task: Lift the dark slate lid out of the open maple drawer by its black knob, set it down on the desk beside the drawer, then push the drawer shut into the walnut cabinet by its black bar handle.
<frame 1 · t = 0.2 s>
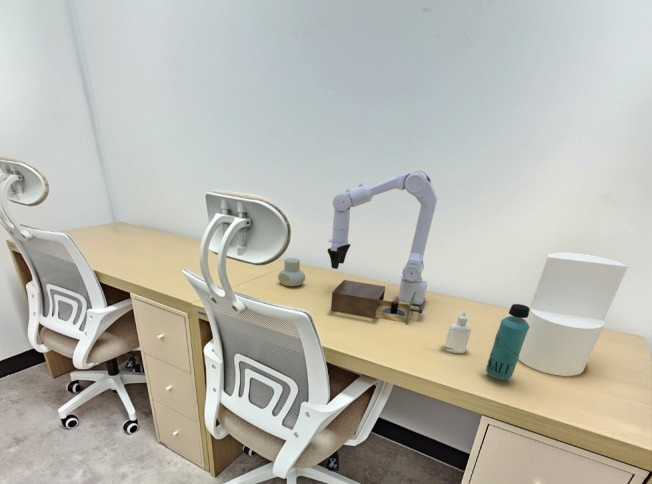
hand: (337, 265, 148), 10 cm above the table, tool pointing down, fingers open, 7 cm apart
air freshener: (291, 284, 158), on the table
beverage bottle: (496, 378, 101), on the table
lid: (393, 313, 132), point 1 cm above the table, touching drawer
drawer: (394, 305, 131), point 4 cm above the table, slide at 9.5 cm, touching lid
eye dropper bottle: (454, 351, 114), on the table
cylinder: (547, 360, 111), on the table
cabinet: (357, 311, 137), on the table
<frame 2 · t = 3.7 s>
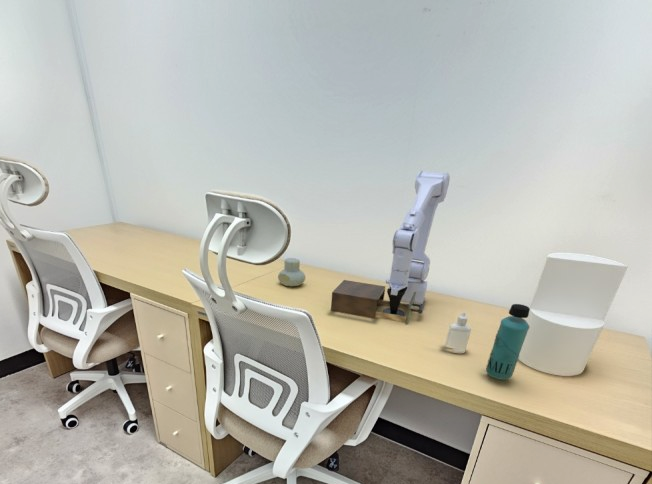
hand: (394, 308, 131), 3 cm above the table, tool pointing down, fingers closed on lid, 2 cm apart
lid: (393, 313, 132), point 2 cm above the table, touching drawer, gripper
everything else where it was.
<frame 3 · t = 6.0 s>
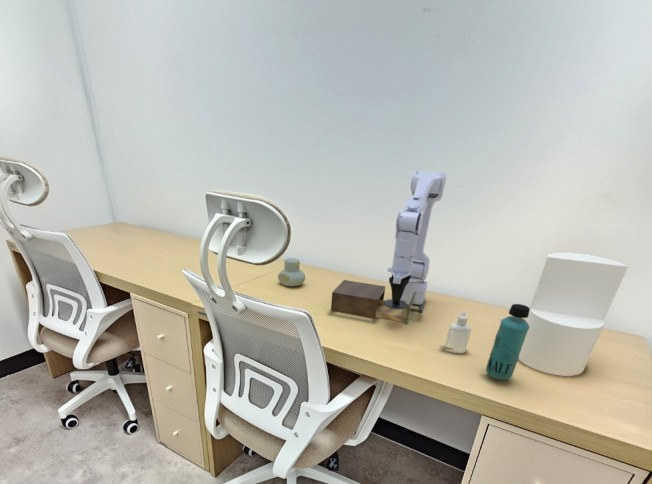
hand: (396, 299, 120), 10 cm above the table, tool pointing down, fingers closed on lid, 2 cm apart
lid: (395, 304, 121), point 8 cm above the table, touching gripper
drawer: (394, 305, 131), point 4 cm above the table, slide at 9.5 cm
everything else where it was.
when the fingers open (2 cm above the table, at t = 8.3 s): lid stays where it is, on the table.
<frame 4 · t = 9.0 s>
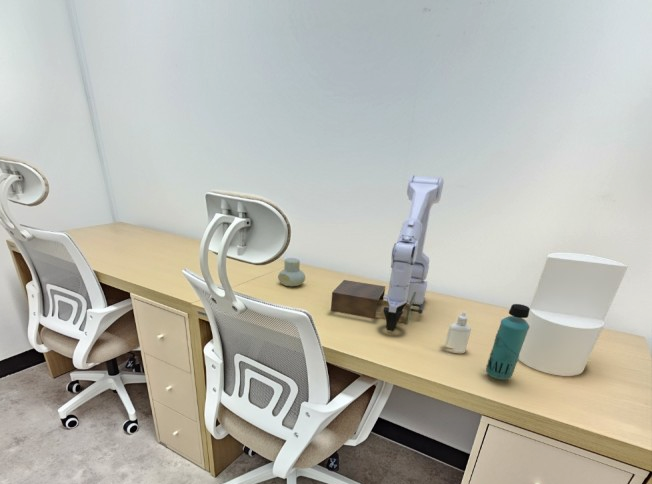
hand: (392, 325, 122), 2 cm above the table, tool pointing down, fingers open, 7 cm apart
lid: (391, 331, 123), on the table
everything else where it was.
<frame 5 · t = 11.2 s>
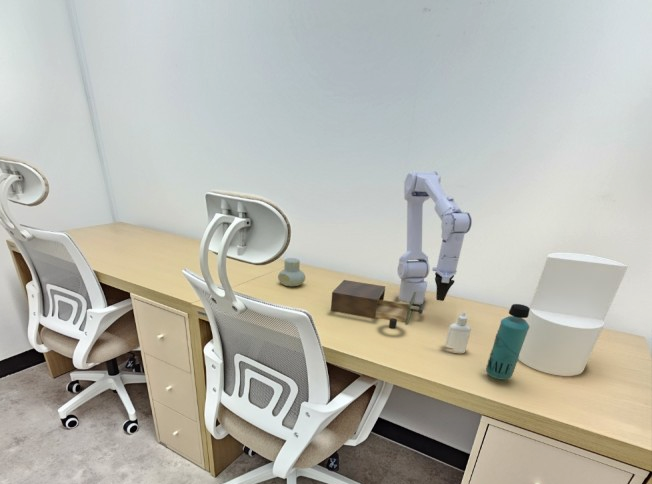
hand: (439, 297, 124), 9 cm above the table, tool pointing down, fingers open, 3 cm apart
nothing on the table moved.
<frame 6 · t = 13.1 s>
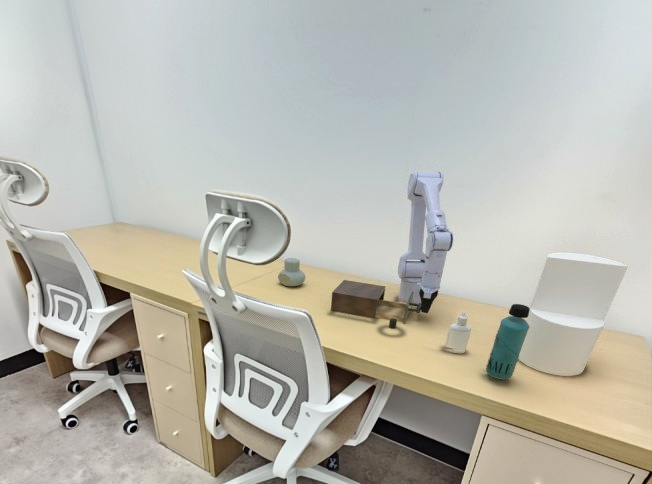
hand: (424, 311, 128), 4 cm above the table, tool pointing down, fingers closed, pressing on drawer
drawer: (392, 305, 131), point 4 cm above the table, slide at 8.8 cm, touching gripper
everything else where it was.
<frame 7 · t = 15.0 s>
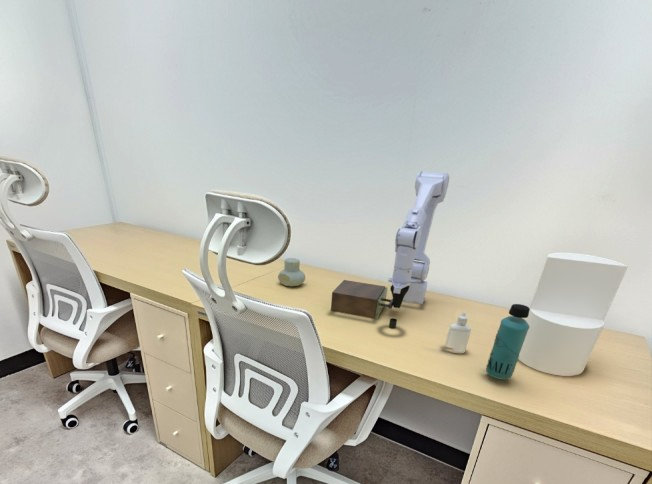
hand: (396, 307, 131), 4 cm above the table, tool pointing down, fingers closed, pressing on drawer
drawer: (366, 301, 134), point 4 cm above the table, slide at -0.2 cm, touching gripper
everything else where it was.
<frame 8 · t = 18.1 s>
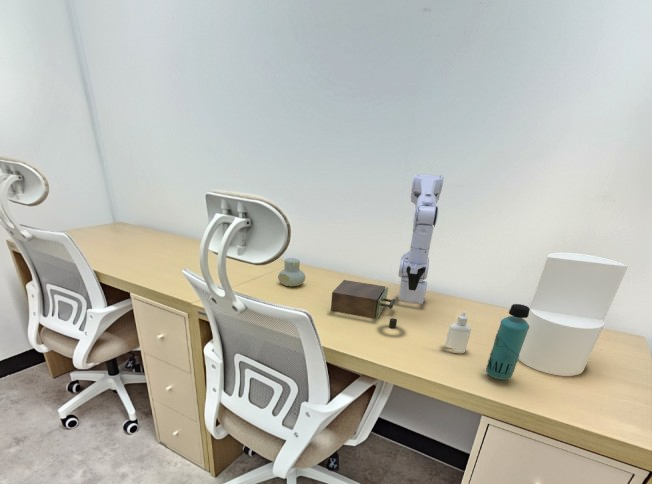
hand: (412, 289, 127), 10 cm above the table, tool pointing down, fingers closed
drawer: (366, 301, 134), point 4 cm above the table, slide at 0.0 cm
everything else where it was.
at the end: lid inside the target area (0.0 cm from its centre), on the table; lid tilted 0°; drawer slide at 0.0 cm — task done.
